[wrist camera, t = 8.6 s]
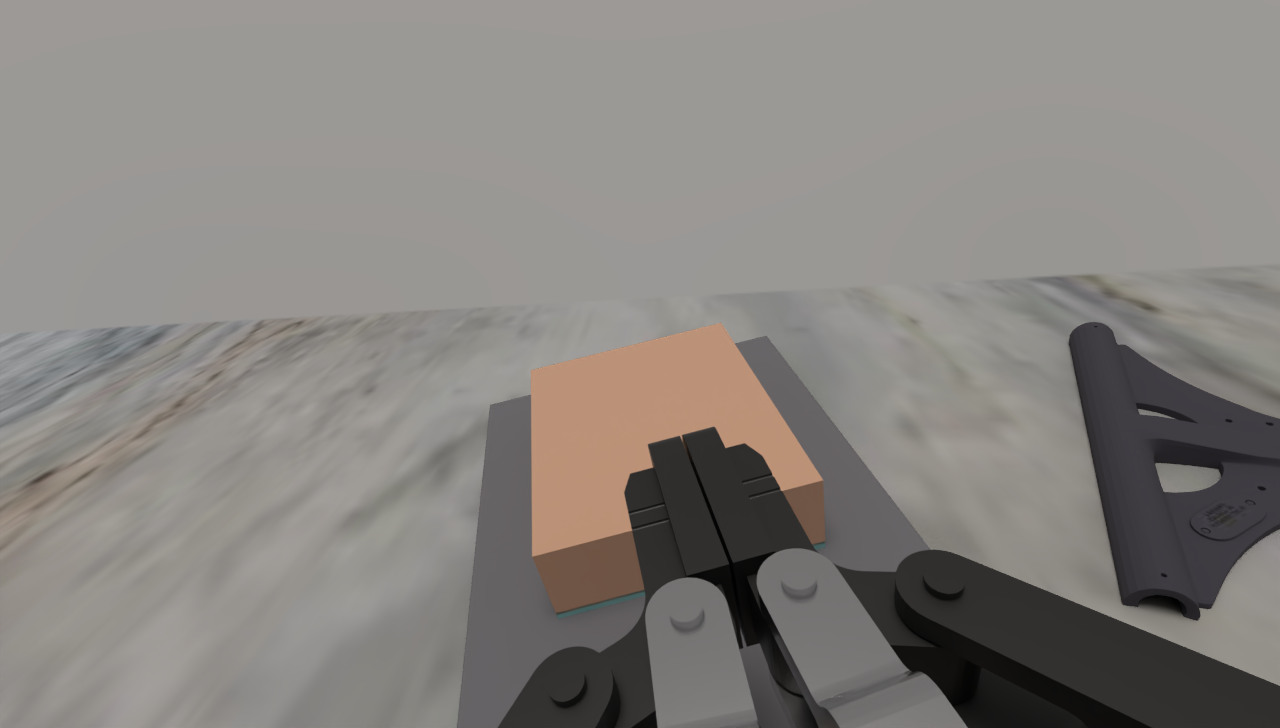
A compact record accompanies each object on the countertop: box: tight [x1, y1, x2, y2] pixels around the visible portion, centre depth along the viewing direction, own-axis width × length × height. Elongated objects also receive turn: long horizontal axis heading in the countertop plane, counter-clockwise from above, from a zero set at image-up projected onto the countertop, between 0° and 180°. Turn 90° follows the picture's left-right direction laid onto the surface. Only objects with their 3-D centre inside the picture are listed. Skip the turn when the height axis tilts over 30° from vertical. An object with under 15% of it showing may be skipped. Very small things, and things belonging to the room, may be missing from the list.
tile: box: [531, 323, 825, 619], centre depth 23 cm, size 9×3×11 cm
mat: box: [457, 336, 930, 728], centre depth 23 cm, size 15×19×1 cm
